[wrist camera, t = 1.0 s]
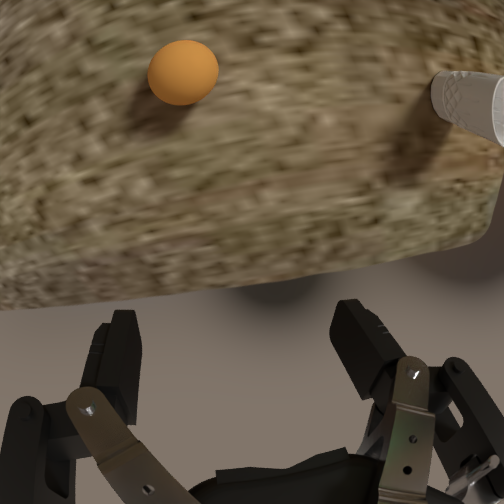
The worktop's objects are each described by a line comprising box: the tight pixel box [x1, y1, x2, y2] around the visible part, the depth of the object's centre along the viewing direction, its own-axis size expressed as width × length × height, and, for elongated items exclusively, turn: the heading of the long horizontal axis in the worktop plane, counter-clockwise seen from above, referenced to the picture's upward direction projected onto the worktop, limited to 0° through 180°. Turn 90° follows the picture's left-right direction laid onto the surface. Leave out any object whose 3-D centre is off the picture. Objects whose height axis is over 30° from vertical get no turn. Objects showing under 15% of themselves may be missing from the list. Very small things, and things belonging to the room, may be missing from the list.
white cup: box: [431, 71, 504, 147], centre depth 22 cm, size 8×8×10 cm
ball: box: [148, 40, 218, 105], centre depth 19 cm, size 6×6×6 cm
